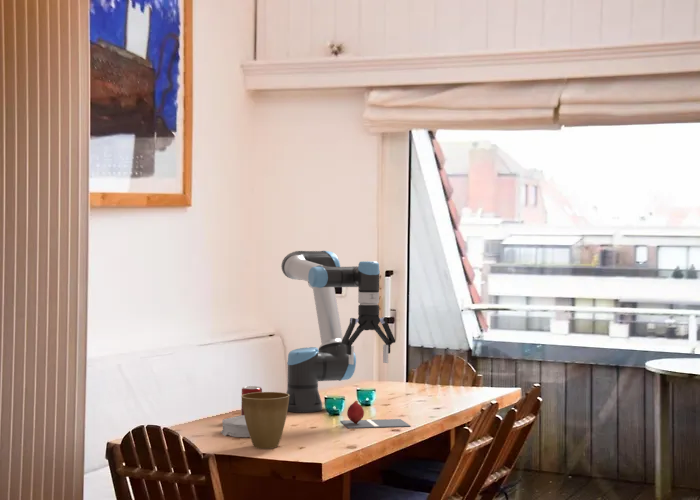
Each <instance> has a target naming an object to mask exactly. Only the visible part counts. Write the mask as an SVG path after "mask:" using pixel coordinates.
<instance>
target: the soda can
mask: <svg viewBox="0 0 700 500" xmlns="http://www.w3.org/2000/svg"><path fill="white" fill-rule="evenodd" d="M256 392H263V388H262V387H261V386H256V385H254V386H253V385H252V386H251V385H250V386H248V385H247V386H243V387H242V388H241V396H242V395H244V394H248V393H256ZM240 406H241V409H240V410H241V411H240V412H241V413H240V414H241V415H244V411H243V405H242V400H241V405H240ZM241 415H240V416H241Z"/></svg>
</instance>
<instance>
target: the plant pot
mask: <svg viewBox="0 0 700 500" xmlns="http://www.w3.org/2000/svg"><path fill="white" fill-rule="evenodd" d="M240 397H241V401H242V405H243V411H244V416H245V420H246V424H247V428H248V431H249V435H250V437H249V438H250V440H251V443H252V445H253V448H255V449H259V450H261V449H263V450H265V449H266V450H268V449H269V450H270V449H275V448H277V447H278V446H279V444H280V440H281V438H282V435H283V432H284V428H285V424H286V419H287V415H288V411H287V410H288V404H289V394H287V393H286V392H280V391H279V392H277V391H262V392H256V393H248V394H244V395H242V394H241V395H240Z"/></svg>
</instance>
